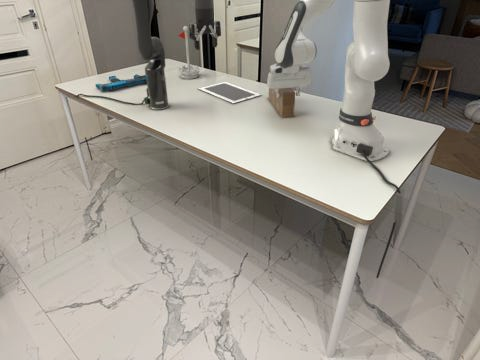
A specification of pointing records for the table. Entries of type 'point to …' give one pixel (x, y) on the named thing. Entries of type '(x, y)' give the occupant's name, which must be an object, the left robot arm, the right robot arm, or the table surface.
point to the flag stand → (187, 71)
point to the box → (283, 101)
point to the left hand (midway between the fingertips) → (206, 48)
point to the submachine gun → (121, 82)
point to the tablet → (229, 92)
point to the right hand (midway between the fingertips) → (288, 96)
